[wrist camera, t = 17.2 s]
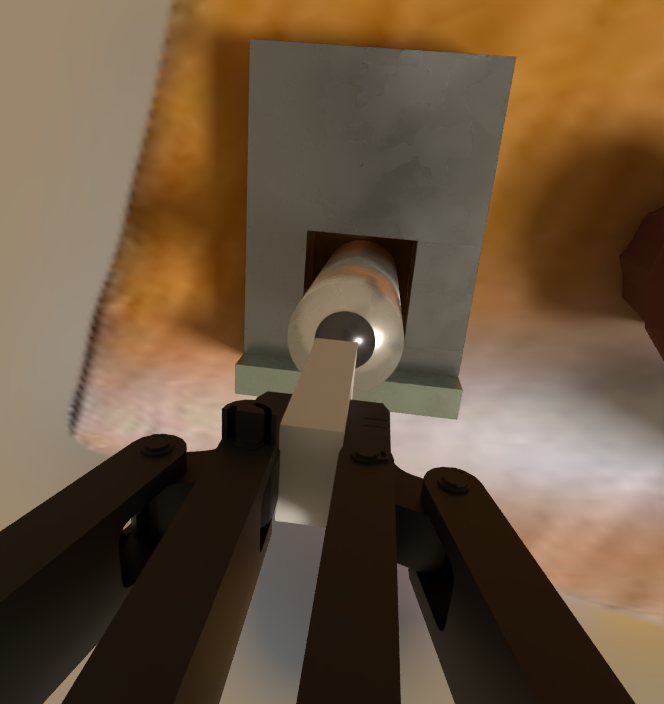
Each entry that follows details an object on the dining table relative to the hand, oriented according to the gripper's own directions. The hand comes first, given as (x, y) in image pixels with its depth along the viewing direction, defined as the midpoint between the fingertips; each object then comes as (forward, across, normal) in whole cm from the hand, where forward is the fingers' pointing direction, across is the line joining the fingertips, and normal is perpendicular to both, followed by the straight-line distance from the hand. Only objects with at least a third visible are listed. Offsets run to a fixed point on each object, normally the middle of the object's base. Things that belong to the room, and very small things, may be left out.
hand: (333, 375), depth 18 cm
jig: (+18, 0, +3) cm, 18 cm away
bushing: (+18, 0, 0) cm, 18 cm away
